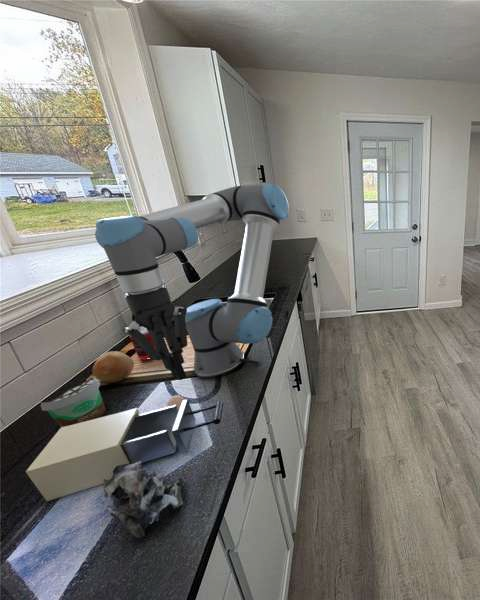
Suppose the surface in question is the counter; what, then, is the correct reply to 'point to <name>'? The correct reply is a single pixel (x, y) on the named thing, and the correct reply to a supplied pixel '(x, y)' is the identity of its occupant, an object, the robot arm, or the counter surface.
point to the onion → (113, 367)
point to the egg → (175, 401)
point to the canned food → (138, 349)
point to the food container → (77, 404)
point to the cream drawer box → (81, 455)
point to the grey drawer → (163, 431)
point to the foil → (139, 496)
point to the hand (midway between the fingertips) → (179, 377)
